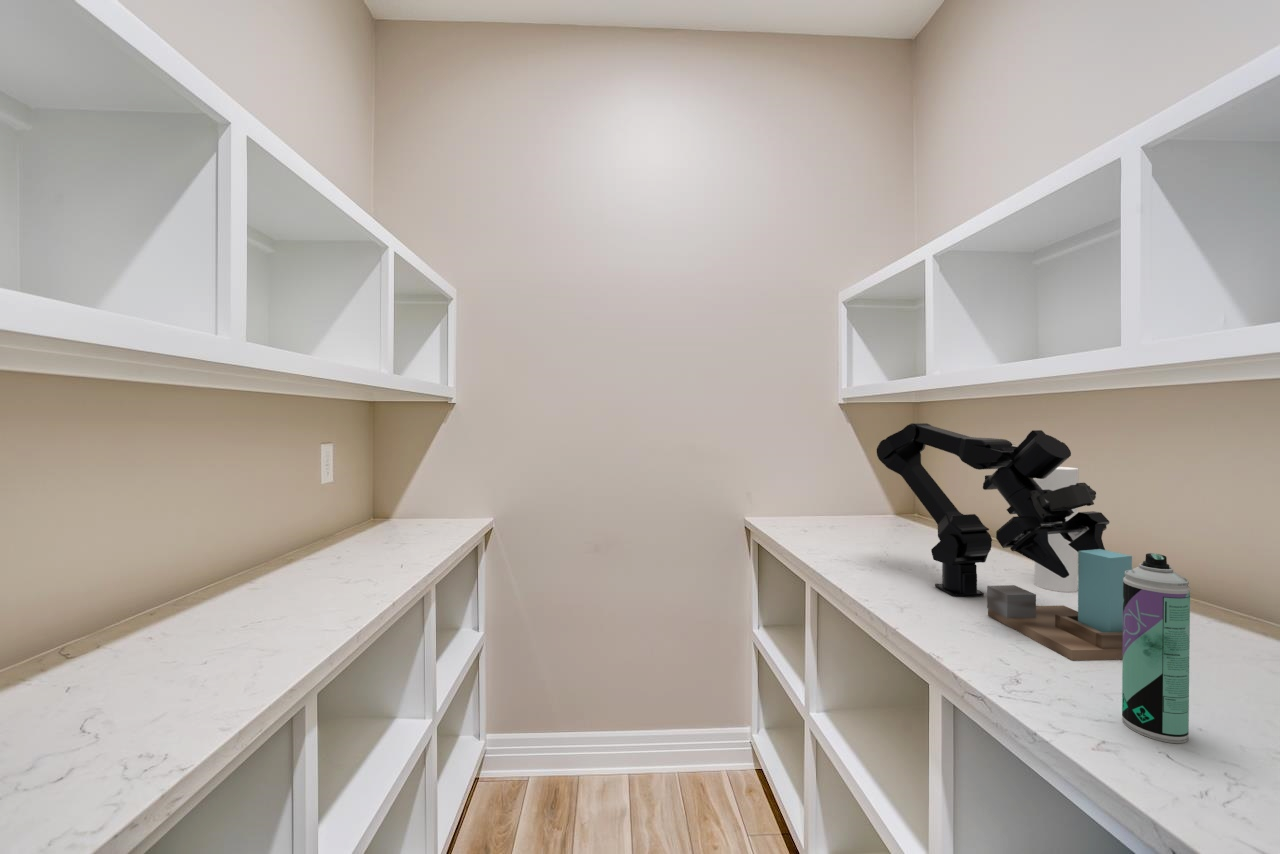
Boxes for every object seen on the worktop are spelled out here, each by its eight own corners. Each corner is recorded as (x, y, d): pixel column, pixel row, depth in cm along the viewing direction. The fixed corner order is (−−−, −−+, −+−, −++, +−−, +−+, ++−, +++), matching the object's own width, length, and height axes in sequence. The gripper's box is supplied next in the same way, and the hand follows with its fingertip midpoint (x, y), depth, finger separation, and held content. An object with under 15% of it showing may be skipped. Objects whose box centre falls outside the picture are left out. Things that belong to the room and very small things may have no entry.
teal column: (1077, 632, 84) (1078, 550, 84) (1099, 629, 86) (1099, 548, 85) (1109, 644, 80) (1109, 558, 80) (1131, 640, 81) (1132, 555, 81)
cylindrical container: (1037, 589, 110) (1038, 468, 110) (1031, 579, 117) (1032, 465, 116) (1081, 594, 107) (1082, 470, 107) (1072, 584, 113) (1073, 467, 113)
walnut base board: (985, 615, 96) (985, 584, 96) (1063, 613, 96) (1063, 583, 96) (1068, 660, 78) (1068, 623, 78) (1164, 658, 78) (1164, 621, 78)
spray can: (1153, 714, 64) (1155, 548, 63) (1203, 742, 58) (1205, 561, 58) (1109, 716, 64) (1110, 549, 63) (1155, 744, 58) (1156, 561, 58)
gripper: (1012, 468, 87) (1083, 552, 77) (1098, 464, 92) (1175, 543, 82) (971, 507, 95) (1029, 588, 85) (1051, 502, 100) (1116, 579, 89)
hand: (1088, 574), depth 85 cm, fingers open, 9 cm apart
